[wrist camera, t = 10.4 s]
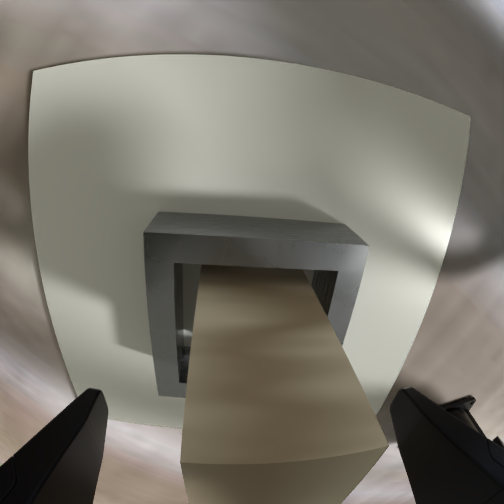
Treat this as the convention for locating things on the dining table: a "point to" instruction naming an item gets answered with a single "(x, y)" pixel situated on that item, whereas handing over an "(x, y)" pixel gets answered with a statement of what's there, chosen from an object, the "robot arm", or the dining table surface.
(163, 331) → the square socket
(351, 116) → the socket board
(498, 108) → the dining table surface
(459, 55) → the dining table surface
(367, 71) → the dining table surface
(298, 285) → the square peg
